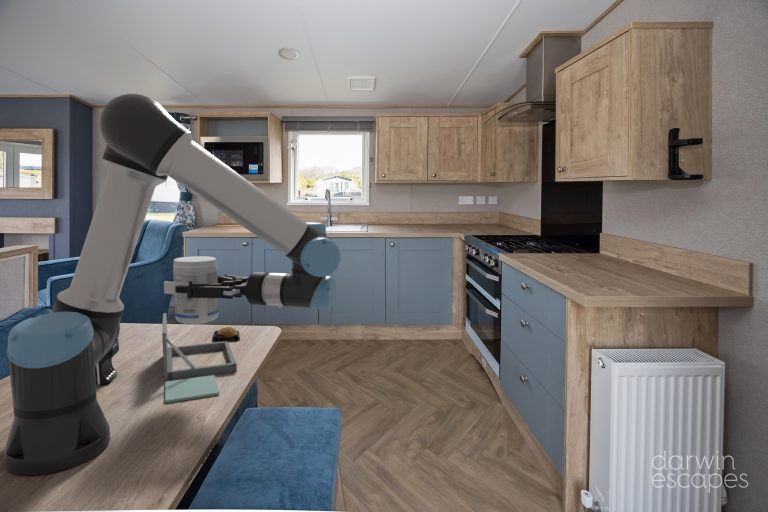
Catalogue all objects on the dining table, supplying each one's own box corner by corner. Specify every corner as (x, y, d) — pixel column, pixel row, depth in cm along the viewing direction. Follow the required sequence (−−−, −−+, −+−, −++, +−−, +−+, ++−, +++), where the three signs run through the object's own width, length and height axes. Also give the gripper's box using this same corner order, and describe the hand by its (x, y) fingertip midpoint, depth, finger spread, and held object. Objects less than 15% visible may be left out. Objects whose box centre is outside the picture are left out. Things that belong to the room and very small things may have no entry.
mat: (165, 403, 98) (165, 400, 98) (165, 384, 108) (165, 381, 108) (218, 394, 103) (218, 392, 103) (214, 377, 113) (214, 374, 113)
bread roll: (211, 336, 148) (210, 325, 147) (238, 333, 151) (237, 322, 150) (213, 346, 138) (213, 334, 137) (242, 342, 141) (242, 331, 141)
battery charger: (112, 385, 107) (109, 338, 106) (94, 386, 106) (91, 339, 105) (122, 373, 114) (119, 329, 112) (105, 374, 113) (102, 330, 112)
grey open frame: (164, 381, 110) (162, 333, 108) (165, 354, 128) (163, 313, 126) (236, 371, 117) (235, 326, 116) (227, 347, 135) (226, 308, 133)
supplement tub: (208, 312, 115) (207, 254, 113) (225, 320, 108) (224, 259, 106) (168, 318, 108) (166, 257, 106) (183, 327, 101) (182, 262, 100)
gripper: (246, 317, 94) (148, 309, 97) (285, 295, 116) (204, 289, 119) (245, 281, 93) (146, 275, 96) (285, 266, 115) (203, 261, 118)
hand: (178, 283), depth 108 cm, fingers closed on supplement tub, 9 cm apart
